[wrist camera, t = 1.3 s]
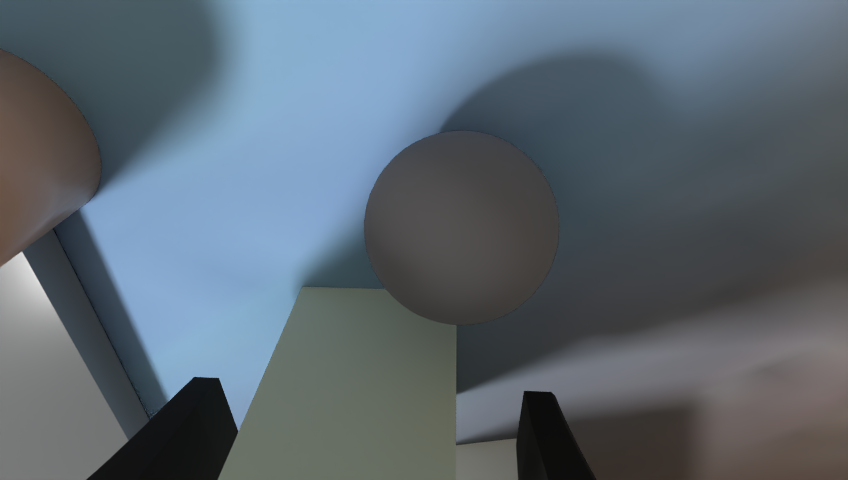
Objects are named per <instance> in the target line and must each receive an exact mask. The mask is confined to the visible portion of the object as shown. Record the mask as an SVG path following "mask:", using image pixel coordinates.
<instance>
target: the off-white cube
mask: <svg viewBox="0 0 848 480" xmlns="http://www.w3.org/2000/svg"><path fill="white" fill-rule="evenodd" d="M516 441H517V438H515V439H507V440H498V441H489V442H481V443H472V444H464V445H456V480H518V470H517V454H516Z"/></svg>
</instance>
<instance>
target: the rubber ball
mask: <svg viewBox="0 0 848 480" xmlns="http://www.w3.org/2000/svg"><path fill="white" fill-rule="evenodd" d="M364 235H365V244H366V250H367V253H368V256H369V259H370V262H371V265H372V268H373V270H374V272H375V274H376V275H377V277H378V279H379V280H380V282H381V283H382V285H383V286H384V288H385V289H386V290H387V291H388V292H389V293H390V294H391V296H392V297H394V298H395V299H396V300H397V301H398V302H399V303H400V304H402V305H403V306H404V307H406V308H407V309H408V310H410V311H412V312H413V313H415V314H417V315H419V316H421V317H424V318H426V319H429V320H432V321H436V322H439V323H444V324H450V325H472V324H479V323H484V322H488V321H491V320H494V319H497V318H499V317H502V316H504V315H506V314H508V313H510V312H511V311H513V310H515V309H516V308H518V307H519V306H520V305H522V304H523V303H524V302H525V301H526V300H528V299H529V298H530V297H531V296H532V295H533V294H534V293H535V291H536V290H537V289H538V288H539V286H540V285H541V284H542V282H543V281H544V279H545V277H546V276H547V274H548V272H549V270H550V268H551V266H552V263H553V261H554V258H555V254H556V250H557V246H558V239H559V215H558V210H557V205H556V201H555V197H554V195H553V192H552V190H551V187H550V185H549V183H548V181H547V180H546V178H545V176H544V175H543V173H542V171H541V170H540V169H539V168H538V167H537V165H536V164H535V163H534V162H533V161H532V160H531V159H530V158H529V157H528V156H527V155H526V154H525V153H524V152H522V151H521V150H520V149H518V148H517V147H515V146H514V145H512V144H511V143H509V142H507V141H505V140H503V139H501V138H498V137H495V136H492V135H489V134H486V133H481V132H476V131H464V130H462V131H448V132H443V133H438V134H435V135H432V136H429V137H426V138H423V139H421V140H419V141H417V142H415V143H413V144H411V145H410V146H408V147H407V148H405V149H404V150H403V151H401V152H400V153H399V154H398V155H397V156H395V157H394V158H393V159H392V161H391V162H390V163H389V164H388V165H387V166H386V167H385V168H384V170H383V171H382V173H381V174H380V176H379V177H378V179H377V181H376V183H375V185H374V187H373V189H372V191H371V193H370V196H369V199H368V203H367V207H366V212H365V220H364Z"/></svg>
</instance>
